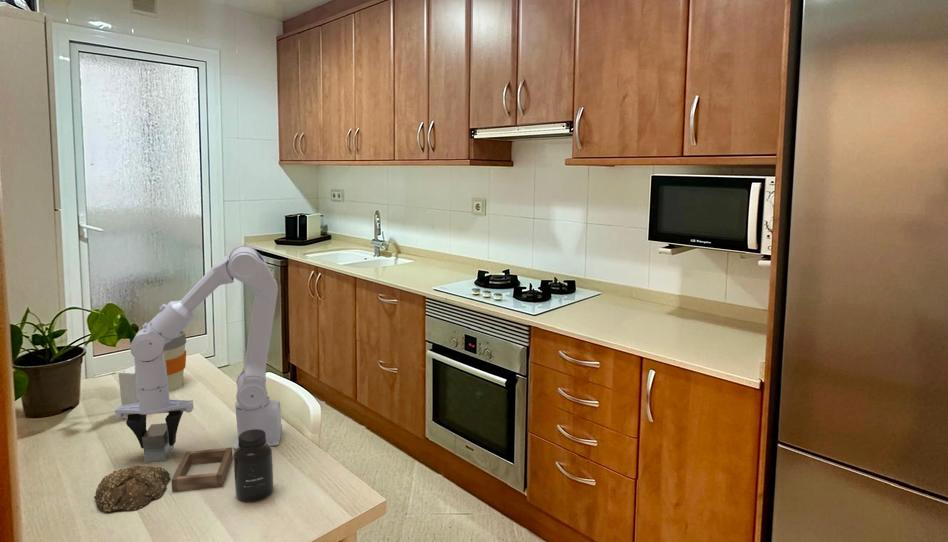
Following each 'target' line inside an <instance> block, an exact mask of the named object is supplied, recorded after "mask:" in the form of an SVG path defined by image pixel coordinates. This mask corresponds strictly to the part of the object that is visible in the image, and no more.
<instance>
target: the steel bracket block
mask: <svg viewBox="0 0 948 542" xmlns="http://www.w3.org/2000/svg"><path fill="white" fill-rule="evenodd" d="M146 430H147V431H146V433H145V434H144V435H143V437H142V440H143V457H144V464H154V463H166V462H167V461H168V459H169V457H170V455H171V454H172V452H173V450H174V449H175V446H174V445H175V444H174V445H173V446H170V445H169V434H168V428H167V424H166V422H165V423H152V424H150V426H149V427H148V428H147V429H146Z"/></svg>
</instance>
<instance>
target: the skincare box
mask: <svg viewBox="0 0 948 542" xmlns="http://www.w3.org/2000/svg"><path fill="white" fill-rule="evenodd" d="M118 382H119V391H120V392H119V393H120V402H121V406H122V405H129V404H134V403H139V402H138V393H137V384H136V375H135V365H132V366H130V367H127V368H126V369H124V370H122V371H119V372H118ZM122 418H123V419H126V420H128V419H127V418H128V416H122Z"/></svg>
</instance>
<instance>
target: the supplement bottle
mask: <svg viewBox="0 0 948 542" xmlns="http://www.w3.org/2000/svg"><path fill="white" fill-rule="evenodd" d="M238 445H239V448H237V449H235V451H234V452H233V466H234V467H233V469H234V487H235V488H234V489H235V490H234V491H235V495H236V498H237V499H239V500H240V501H243V502H249V503H251V502H252V503H253V502H259V501H261V500H264V499H265V498H267V497H268V496H269V495H271V494H272V493H273V491H274V469H273V467H274V464H273V449H272V446H269V445H268V444H267V443H266V433H265V431H263V430H259V429H253V430H248V431H245V432H243V433H241V434H240V435H239V443H238Z"/></svg>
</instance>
